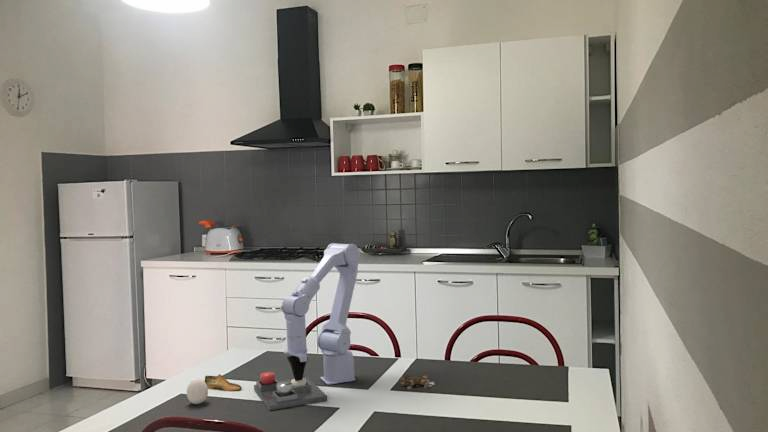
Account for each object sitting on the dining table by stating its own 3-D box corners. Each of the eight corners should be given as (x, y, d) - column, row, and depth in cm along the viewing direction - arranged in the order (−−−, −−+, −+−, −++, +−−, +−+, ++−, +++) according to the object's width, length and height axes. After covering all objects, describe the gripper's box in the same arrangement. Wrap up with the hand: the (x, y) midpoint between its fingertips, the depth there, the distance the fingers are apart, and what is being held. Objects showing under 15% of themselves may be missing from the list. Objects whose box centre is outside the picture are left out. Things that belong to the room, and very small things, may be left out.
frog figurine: (407, 394, 195) (407, 382, 195) (391, 383, 206) (391, 371, 206) (441, 388, 199) (441, 376, 199) (424, 378, 210) (424, 366, 210)
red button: (273, 379, 203) (273, 371, 203) (276, 382, 199) (276, 374, 199) (259, 381, 201) (259, 373, 201) (262, 385, 197) (262, 377, 197)
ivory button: (303, 385, 201) (303, 377, 201) (307, 389, 197) (307, 381, 197) (289, 387, 199) (289, 379, 199) (293, 391, 195) (293, 383, 195)
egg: (209, 399, 196) (208, 374, 195) (207, 406, 190) (206, 380, 189) (188, 401, 195) (187, 376, 194) (186, 408, 189) (184, 382, 188)
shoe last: (237, 393, 201) (236, 378, 201) (202, 388, 207) (201, 374, 207) (245, 389, 205) (245, 374, 205) (211, 384, 211) (210, 370, 211)
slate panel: (306, 381, 210) (306, 372, 210) (327, 400, 190) (326, 390, 190) (254, 389, 203) (253, 380, 203) (269, 410, 184) (269, 400, 184)
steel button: (290, 389, 192) (289, 381, 192) (294, 393, 188) (293, 385, 188) (275, 391, 191) (274, 383, 190) (279, 396, 187) (278, 387, 186)
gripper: (277, 332, 202) (279, 375, 203) (289, 342, 189) (291, 388, 189) (299, 329, 205) (301, 372, 206) (313, 339, 191) (315, 384, 192)
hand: (298, 379), depth 198 cm, fingers closed
